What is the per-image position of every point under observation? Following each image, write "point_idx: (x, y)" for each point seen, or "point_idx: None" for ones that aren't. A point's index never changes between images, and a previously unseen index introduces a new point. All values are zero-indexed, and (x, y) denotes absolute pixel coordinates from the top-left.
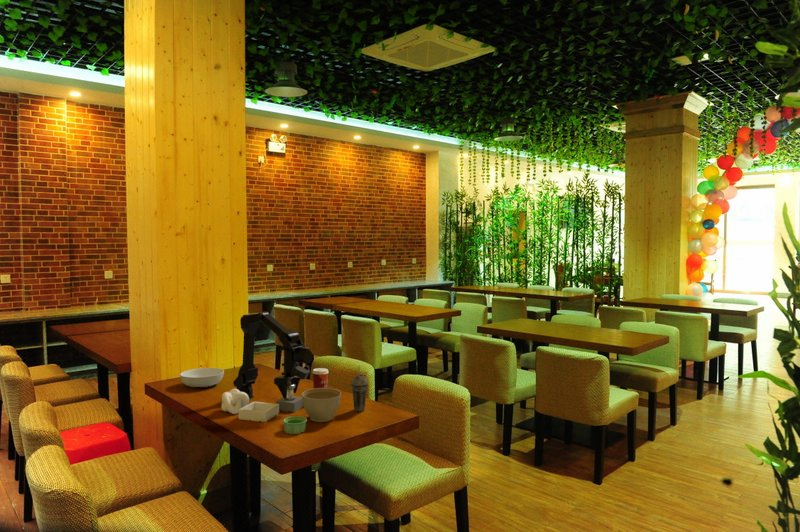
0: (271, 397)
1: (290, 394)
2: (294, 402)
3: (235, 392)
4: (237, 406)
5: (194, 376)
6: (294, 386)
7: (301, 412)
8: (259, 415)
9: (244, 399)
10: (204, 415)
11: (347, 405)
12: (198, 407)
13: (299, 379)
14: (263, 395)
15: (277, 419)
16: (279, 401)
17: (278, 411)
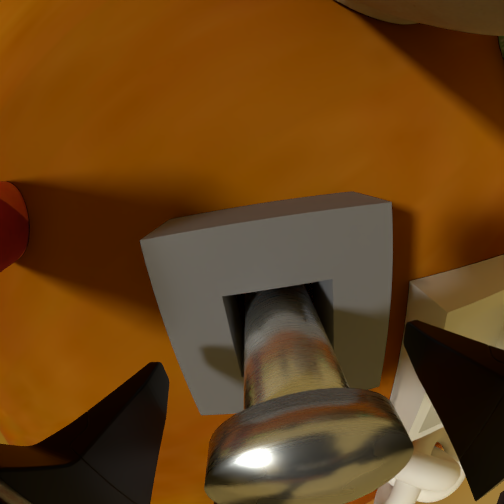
0: (160, 453)
1: (330, 350)
2: (374, 215)
3: (415, 501)
4: (436, 439)
5: None
6: (323, 415)
7: (329, 133)
8: None
9: (435, 457)
10: (442, 447)
11: (49, 3)
12: (375, 492)
13: (40, 478)
14: (164, 474)
15: (487, 216)
16: (383, 360)
17: (424, 285)
